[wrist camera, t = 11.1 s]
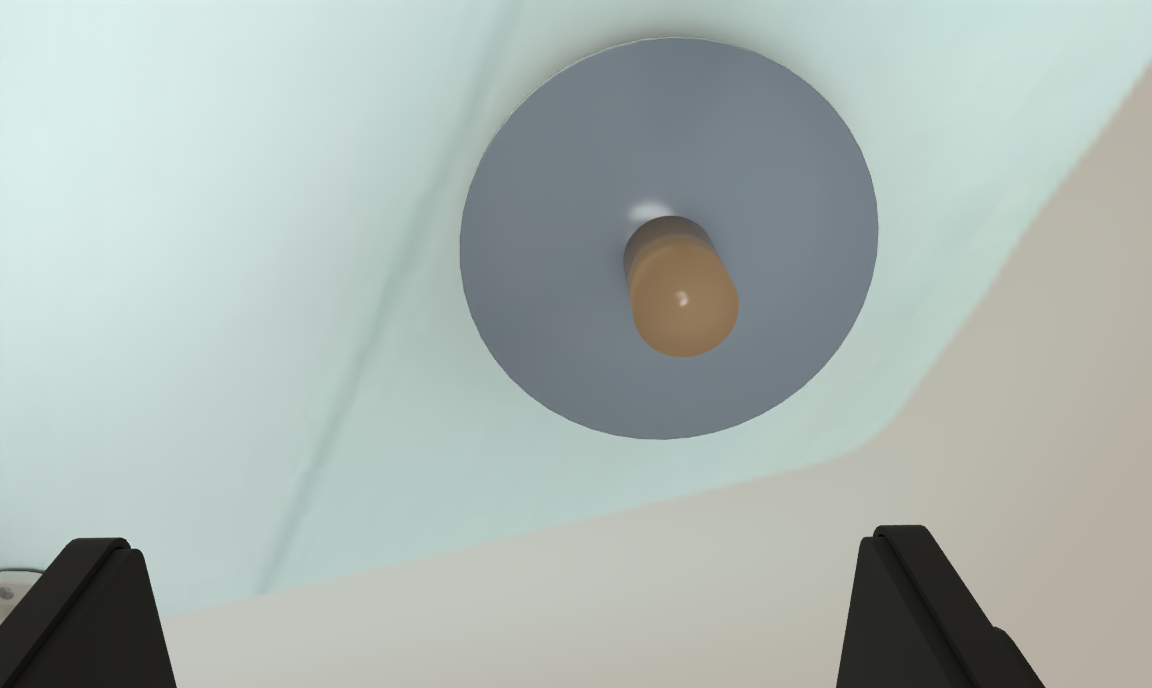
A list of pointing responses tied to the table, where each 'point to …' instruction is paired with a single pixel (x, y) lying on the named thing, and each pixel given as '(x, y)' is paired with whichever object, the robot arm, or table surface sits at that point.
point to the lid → (668, 238)
